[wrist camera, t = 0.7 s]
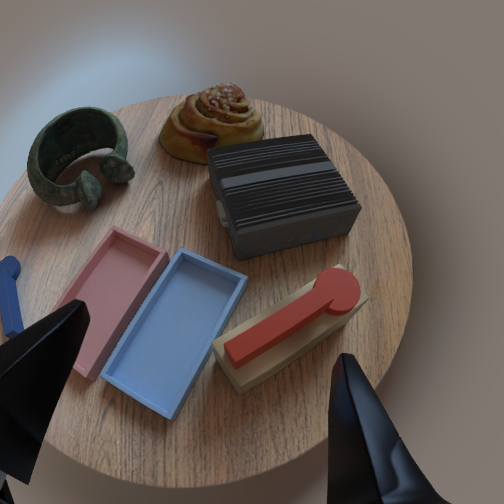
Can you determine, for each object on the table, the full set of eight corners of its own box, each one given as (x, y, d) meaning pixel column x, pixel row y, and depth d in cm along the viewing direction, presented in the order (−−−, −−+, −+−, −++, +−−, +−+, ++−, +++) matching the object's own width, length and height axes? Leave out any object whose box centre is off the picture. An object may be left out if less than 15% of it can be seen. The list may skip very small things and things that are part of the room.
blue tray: (174, 420, 23) (170, 420, 22) (106, 378, 25) (98, 375, 23) (247, 285, 31) (247, 276, 29) (182, 256, 32) (180, 246, 31)
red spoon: (337, 265, 26) (345, 249, 23) (365, 299, 24) (377, 285, 22) (216, 339, 22) (213, 329, 20) (244, 383, 20) (245, 377, 18)
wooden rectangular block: (323, 292, 31) (340, 262, 26) (347, 322, 29) (370, 297, 24) (215, 359, 27) (210, 341, 22) (239, 395, 25) (240, 387, 20)
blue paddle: (-1, 267, 30) (-11, 257, 28) (19, 254, 31) (9, 244, 29) (10, 346, 25) (-3, 339, 23) (33, 334, 26) (20, 325, 24)
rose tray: (94, 381, 24) (85, 378, 23) (44, 341, 26) (35, 336, 24) (170, 260, 32) (167, 250, 30) (118, 235, 33) (113, 225, 32)
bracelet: (78, 241, 33) (42, 183, 24) (29, 194, 37) (1, 145, 28) (160, 165, 40) (147, 104, 31) (99, 136, 44) (84, 85, 35)
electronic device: (356, 231, 35) (371, 203, 31) (232, 263, 32) (231, 234, 28) (312, 159, 42) (318, 131, 37) (204, 178, 39) (202, 147, 34)
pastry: (278, 141, 44) (284, 95, 37) (186, 178, 39) (179, 128, 32) (231, 103, 49) (232, 62, 42) (150, 131, 44) (142, 88, 37)
